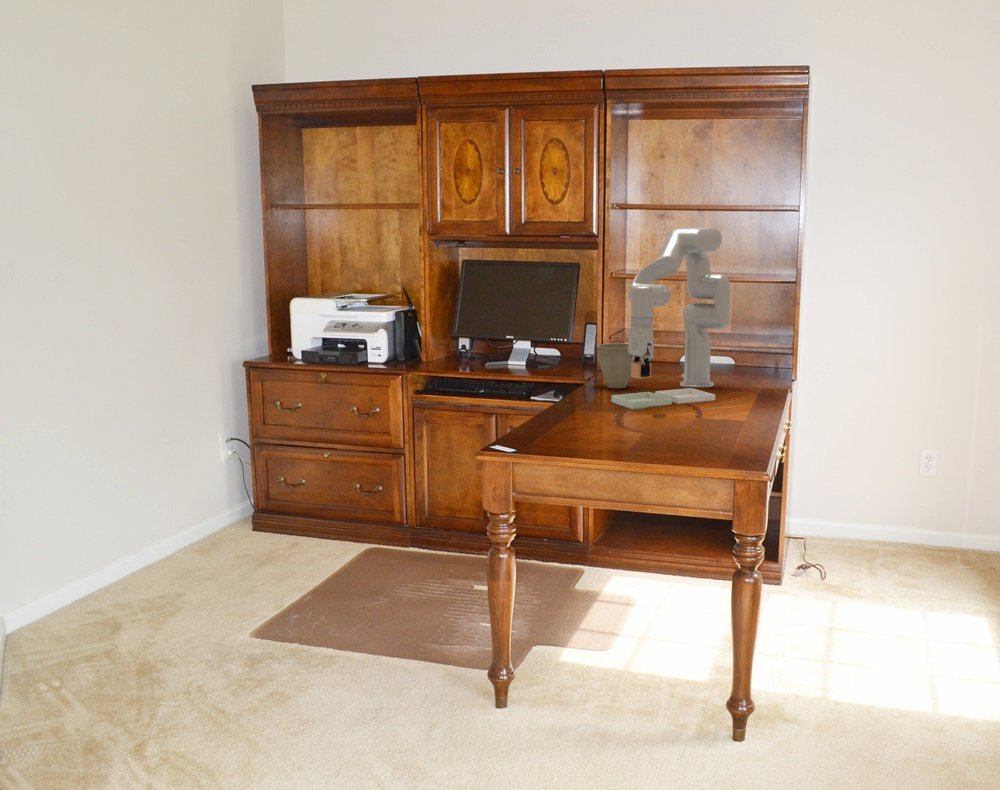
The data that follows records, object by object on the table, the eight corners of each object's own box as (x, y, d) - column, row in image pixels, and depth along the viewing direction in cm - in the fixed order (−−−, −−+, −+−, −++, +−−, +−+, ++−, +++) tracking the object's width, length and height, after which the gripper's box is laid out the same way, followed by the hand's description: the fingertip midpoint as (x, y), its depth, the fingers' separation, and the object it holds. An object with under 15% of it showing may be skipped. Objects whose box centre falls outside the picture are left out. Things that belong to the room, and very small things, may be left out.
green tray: (611, 402, 332) (611, 395, 331) (648, 398, 337) (649, 391, 337) (632, 409, 318) (632, 402, 317) (671, 406, 323) (671, 398, 323)
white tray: (655, 398, 338) (655, 391, 337) (691, 394, 343) (691, 388, 343) (677, 405, 324) (678, 398, 324) (715, 401, 330) (715, 394, 329)
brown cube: (630, 376, 327) (631, 362, 326) (643, 375, 329) (643, 361, 328) (638, 378, 322) (638, 364, 321) (651, 377, 324) (651, 363, 323)
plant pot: (643, 386, 363) (644, 344, 361) (621, 391, 352) (621, 348, 350) (611, 382, 373) (612, 342, 370) (589, 387, 362) (589, 346, 360)
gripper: (619, 320, 329) (619, 372, 332) (644, 325, 313) (644, 379, 316) (638, 319, 332) (638, 371, 335) (664, 324, 316) (663, 378, 319)
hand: (641, 374), depth 325 cm, fingers closed on brown cube, 4 cm apart
